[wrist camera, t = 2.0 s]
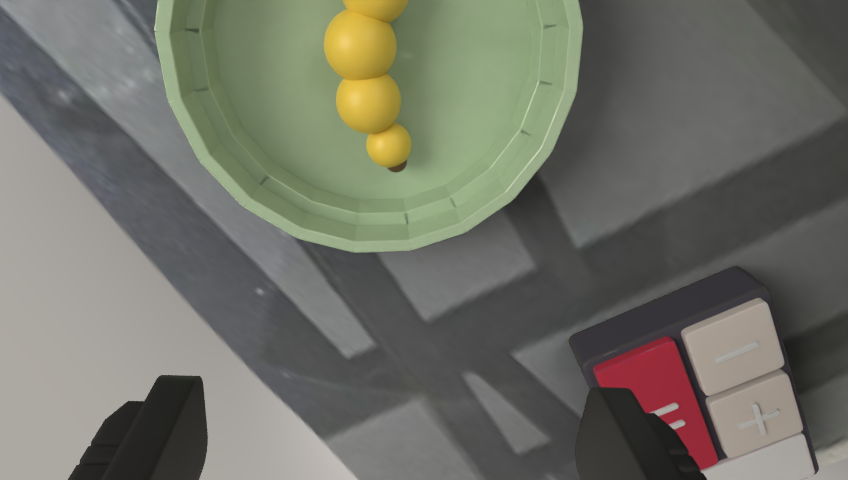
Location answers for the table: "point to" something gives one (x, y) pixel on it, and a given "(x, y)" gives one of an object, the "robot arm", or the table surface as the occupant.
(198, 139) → the bowl
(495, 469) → the table surface
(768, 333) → the calculator
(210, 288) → the table surface
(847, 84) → the table surface
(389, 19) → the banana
